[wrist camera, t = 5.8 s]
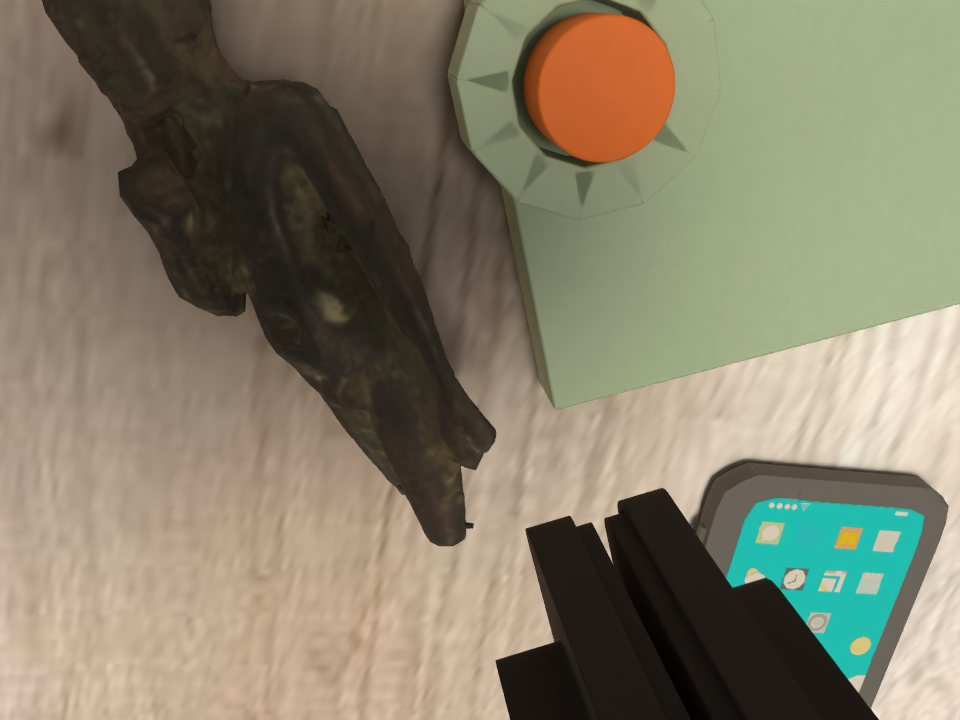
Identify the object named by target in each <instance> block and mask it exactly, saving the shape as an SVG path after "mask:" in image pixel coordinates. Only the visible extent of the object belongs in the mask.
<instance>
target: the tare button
mask: <svg viewBox="0 0 960 720" xmlns="http://www.w3.org/2000/svg"><path fill="white" fill-rule="evenodd" d="M523 92H524V100H525V104H526V108H527V110H528V113H529V116H530V118H531V119H532V121H533V123H534V125H535V126H536V127H537V129H538V130H539V131H540V132H541V133H542V134H543V135H544V136H545V137H546V138H547V139H548V140H550V141H551V142H552V143H554V144H555V145H557V146H558V147H560V148H561V149H563V150H564V151H565V152H567V153H569V154H571V155H572V156H574V157H577V158H579V159H582V160H585V161H590V162H598V163H602V162H612V161H618V160H621V159H624V158H627V157H629V156H631V155H633V154H635V153H636V152H638V151H640V150H641V149H643V148H644V147H645V146H646V145H648V144H649V143H650V142H651V141H652V140H653V139H654V138H655V137H656V135H657V134H658V133H659V131H660V130H661V129H662V127H663V125H664V124H665V122H666V120H667V118H668V115H669V113H670V111H671V107H672V104H673V100H674V94H675V72H674V67H673V63H672V60H671V56H670V54H669V52H668V50H667V48H666V46H665V45H664V43H663V41H662V40H661V39H660V37H659V36H658V35H657V34H656V33H655V32H654V31H653V30H652V29H651V28H649V27H648V26H647V25H645V24H644V23H642V22H640V21H638V20H636V19H634V18H631V17H627V16H624V15H616V14H606V13H596V12H593V13H581V14H577V15H573V16H570V17H568V18H566V19H564V20H561V21H560V22H558V23H557V24H555V25H554V26H552V27H551V28H550V29H549V30H548V31H547V32H546V33H545V34H544V35H543V36H542V37H541V38H540V39H539V41H538V42H537V44H536V45H535V47H534V48H533V50H532V52H531V54H530V56H529V59H528V62H527V65H526V69H525V73H524V81H523Z"/></svg>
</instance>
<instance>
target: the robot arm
mask: <svg viewBox="0 0 960 720" xmlns="http://www.w3.org/2000/svg"><path fill="white" fill-rule="evenodd" d="M618 513H619V514H617V515H614V516H611V517H607V518H605V520H604V521H605V528H606V533H607V538H608V542H609V547H610V552H611V556H612V561H613V563H612V561H611V559H610V557H609V555H608V553H607V551H606V550H605V548H604V546H603V544H602V542H601V540H600V538H599V536H598V534H597V532H596V530H595V528H594V526H593V524H592V523H587V524H584V525H581V526H577V527H576V526H575V524H574V521H573V520H572V518H571V516H567V517H563V518H560V519H557V520H553V521H550V522H547V523H543V524H540V525H537V526H533V527H530V528H527V529H526V535H527V539H528V543H529V547H530V551H531V554H532V558H533V562H534V566H535V570H536V574H537V577H538V581H539V585H540V589H541V593H542V596H543V600H544V604H545V608H546V612H547V615H548V619H549V623H550V627H551V631H552V634H553V638H554V643H551V644H547V645H544V646H541V647H537V648H534V649H531V650H528V651H524V652H521V653H518V654H515V655H511V656H508V657H505V658H502V659H498V660H496V665H497V669H498V673H499V677H500V681H501V685H502V689H503V693H504V697H505V701H506V705H507V709H508V713H509V716H510V720H879V719H878V718H877V717H876V715H875V714H874V713H873V711H872V710H871V709H870V708H869V706H868V705H867V704H866V702H865V701H864V700H863V698H862V697H861V696H860V694H859V693H858V692H857V690H856V689H855V688H854V686H853V685H852V684H851V682H850V681H849V680H848V678H847V677H846V676H845V674H844V673H843V672H842V671H841V669H840V668H839V667H838V665H837V664H836V663H835V661H834V660H833V659H832V657H831V656H830V655H829V653H828V652H827V651H826V649H825V648H824V647H823V645H822V644H821V643H820V641H819V640H818V639H817V637H816V636H815V635H814V634H813V632H812V631H811V630H810V628H809V627H808V626H807V624H806V623H805V622H804V620H803V619H802V618H801V616H800V615H799V614H798V612H797V611H796V610H795V608H794V607H793V606H792V604H791V603H790V602H789V600H788V599H787V598H786V597H785V595H784V594H783V593H782V591H781V590H780V589H779V588H778V587H777V585H776V584H775V583H774V582H773V581H772V580H770V579H768V578H763V579H759V580H756V581H753V582H750V583H746V584H743V585H740V586H737V587H733V588H732V586H731V585H730V583H729V582H728V580H727V579H726V577H725V576H724V574H723V573H722V571H721V570H720V569H719V567H718V566H717V564H716V563H715V561H714V560H713V558H712V557H711V555H710V554H709V552H708V551H707V549H706V548H705V546H704V545H703V544H702V542H701V541H700V539H699V538H698V536H697V535H696V533H695V532H694V530H693V529H692V527H691V526H690V524H689V523H688V521H687V520H686V519H685V517H684V516H683V514H682V513H681V511H680V510H679V508H678V507H677V505H676V504H675V502H674V501H673V499H672V498H671V496H670V495H669V494H668V492H667V491H666V490H665V489H663V488H660V489H657V490H654V491H650V492H647V493H644V494H640V495H637V496H634V497H630V498H627V499H624V500H620V501H618Z"/></svg>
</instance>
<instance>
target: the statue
mask: <svg viewBox="0 0 960 720" xmlns="http://www.w3.org/2000/svg"><path fill="white" fill-rule="evenodd" d="M42 2H43V6H44V9H45V12H46V14H47V15H48V17H49V18H50V20H51V21H52V23H53V24H54V25H55V27H56V28H57V30H58V31H59V33H60V34H61V36H62V37H63V39H64V40H65V42H66V43H67V44H68V45H69V46H70V48H71V49H72V50H73V51H74V52H75V53H76V54H77V56H78V60H79V63H80V64H81V65H82V67H83V68H84V69H85V70H86V72H87V73H88V74H89V75H90V76H91V77H92V78H93V80H94V81H95V82H96V84H97V86H98V88H99V89H100V91H101V92H102V93H103V94H104V95H106V96H107V97H108V98H109V100H110V101H111V103H112V105H113V106H114V108H115V109H116V111H117V112H118V114H119V115H120V117H121V118H122V120H123V123H124V126H125V129H126V132H127V135H128V136H129V138H130V139H131V141H132V142H133V146H134V149H135V153H136V156H137V160H136V161H135V163H134V164H133V165H132V166H131V167H129V168H126V169H124V170H122V171H119V172H118V181H119V193H120V197H121V198H122V200H123V201H124V202H125V204H126V205H127V207H128V208H129V210H130V211H131V212H132V214H133V215H134V216H135V218H136V219H137V220H138V221H139V222H140V223H141V224H142V225H143V227H144V228H145V229H146V230H147V232H148V233H149V235H150V237H151V239H152V241H153V242H154V244H155V246H156V248H157V250H158V252H159V254H160V257H161V260H162V263H163V265H164V268H165V271H166V273H167V276H168V278H169V280H170V282H171V284H172V285H173V287H174V289H175V291H176V293H177V294H178V296H179V297H180V298H182V299H184V300H185V301H187V302H189V303H191V304H193V305H194V306H196V307H198V308H200V309H202V310H205V311H208V312H210V313H212V314H214V315H216V316H238V315H240V314H242V313H243V312H245V303H246V292H247V293H248V295H249V297H250V299H251V302H252V304H253V306H254V309H255V312H256V314H257V317H258V320H259V322H260V325H261V327H262V330H263V332H264V335H265V337H266V339H267V340H268V342H269V343H270V344H271V346H272V347H273V349H274V350H275V351H276V353H277V354H278V355H280V356H281V357H282V358H283V359H285V360H286V361H287V362H288V363H290V364H291V365H292V366H293V367H294V368H296V370H297V371H298V372H299V373H300V374H301V376H302V377H303V378H304V379H305V380H306V381H307V382H308V383H309V384H310V385H311V386H312V387H313V388H314V389H315V390H317V391H318V392H319V393H320V394H321V396H322V398H323V399H324V401H325V402H326V403H327V404H328V406H329V407H330V408H331V410H332V411H333V413H334V415H335V416H336V418H337V419H338V420H339V422H340V423H341V425H342V426H343V427H344V429H345V430H346V431H347V432H348V434H349V435H350V436H351V437H352V438H353V439H354V440H355V442H356V443H357V444H358V446H359V447H360V448H361V449H362V450H363V452H364V453H365V454H366V455H367V456H368V458H369V459H370V460H371V461H372V462H373V463H374V464H375V465H376V466H377V468H378V469H379V470H380V471H381V472H382V473H383V474H384V476H385V477H386V478H387V480H388V481H389V482H391V483H392V484H393V485H394V486H395V487H396V488H397V489H398V490H399V491H400V493H401V494H402V495H406V497H407V499H408V500H409V502H410V504H411V506H412V508H413V510H414V512H415V514H416V516H417V518H418V520H419V522H420V524H421V526H422V529H423V531H424V533H425V535H426V536H427V538H428V539H429V541H430V542H432V543H434V544H436V545H438V546H454V545H456V544H458V543H459V542H461V541H462V540H464V539H465V537H466V529H468V528H473V525H474V523H466V520H465V502H464V493H463V484H462V473H461V466H464V467H465V468H469V469H474V470H476V469H477V466H478V464H479V462H480V460H481V458H482V456H483V454H484V453H485V452H488V451H489V449H490V448H491V446H492V445H493V443H494V442H495V438H496V430H495V428H494V427H493V426H492V425H491V424H490V422H489V421H488V420H487V419H486V418H485V417H484V415H483V414H482V413H481V412H480V411H479V409H478V408H477V406H476V405H475V404H474V403H473V402H472V401H471V400H470V398H469V397H468V395H467V394H466V392H465V391H464V389H463V388H462V386H461V384H460V383H459V381H458V380H457V379H456V378H455V375H454V371H453V370H452V368H451V367H450V365H449V363H448V361H447V358H446V355H445V352H444V349H443V346H442V343H441V340H440V337H439V334H438V331H437V329H436V326H435V323H434V319H433V315H432V312H431V309H430V306H429V303H428V300H427V297H426V293H425V290H424V287H423V284H422V282H421V279H420V276H419V275H418V273H417V271H416V269H415V267H414V264H413V261H412V258H411V254H410V250H409V246H408V244H407V243H406V242H405V240H404V239H403V237H402V236H401V234H400V233H399V231H398V229H397V227H396V225H395V222H394V220H393V218H392V215H391V213H390V210H389V208H388V206H387V204H386V201H385V199H384V197H383V195H382V193H381V191H380V189H379V187H378V185H377V183H376V181H375V179H374V178H373V176H372V174H371V173H370V171H369V170H368V168H367V166H366V164H365V162H364V160H363V158H362V156H361V154H360V152H359V150H358V148H357V146H356V144H355V143H354V141H353V139H352V137H351V135H350V134H349V132H348V130H347V128H346V126H345V124H344V122H343V120H342V118H341V116H340V114H339V113H338V111H337V109H335V108H333V107H330V105H329V104H328V103H327V102H326V100H325V99H324V98H323V96H322V95H321V94H320V92H319V91H318V90H317V89H316V88H314V87H312V86H310V85H308V84H306V83H303V82H291V81H287V80H269V81H259V82H250V81H245V80H242V79H240V78H238V76H237V75H236V74H235V72H234V71H233V69H232V68H231V67H230V65H229V64H228V63H227V62H226V60H225V59H224V58H223V57H222V56H221V54H220V51H219V48H218V45H217V43H216V38H215V34H214V31H213V27H212V17H211V4H210V0H42Z"/></svg>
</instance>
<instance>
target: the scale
mask: <svg viewBox="0 0 960 720" xmlns="http://www.w3.org/2000/svg"><path fill="white" fill-rule="evenodd" d="M463 3H464V8H465V14H464V18H463V21H462V24H461V28H460V31H459V35H458V38H457V41H456V45H455V48H454V52H453V55H452V58H451V62H450V65H449V68H448V73H449V74H448V80H449V85H450V90H451V94H452V99H453V104H454V108H455V113H456V118H457V122H458V127H459V131H460V136H461V139H462V141H463V142H464V144H465V145H466V147H467V148H468V149H469V150H470V151H471V152H472V154H473V155H474V156H475V157H476V158H477V159H478V160H479V161H480V162H481V164H482V165H483V166H484V167H485V168H486V169H487V170H488V171H489V172H490V173H491V175H492V176H493V177H494V178H495V179H496V180H497V181H498V182H499V183H500V186H501V191H502V196H503V201H504V206H505V211H506V216H507V221H508V226H509V231H510V236H511V241H512V246H513V251H514V256H515V261H516V266H517V271H518V276H519V281H520V286H521V291H522V296H523V300H524V305H525V310H526V315H527V320H528V325H529V330H530V335H531V340H532V345H533V350H534V355H535V360H536V365H537V370H538V375H539V380H540V383H541V385H542V387H543V389H544V391H545V392H546V394H547V396H548V398H549V400H550V402H551V404H552V405H553V407H554V409H561V408H564V407H568V406H572V405H576V404H580V403H583V402H587V401H591V400H595V399H599V398H603V397H606V396H610V395H614V394H618V393H622V392H625V391H629V390H633V389H637V388H641V387H644V386H648V385H652V384H656V383H660V382H664V381H667V380H671V379H675V378H679V377H683V376H686V375H690V374H694V373H698V372H702V371H705V370H709V369H713V368H717V367H721V366H725V365H728V364H732V363H736V362H740V361H744V360H747V359H751V358H755V357H759V356H763V355H767V354H770V353H774V352H778V351H782V350H786V349H789V348H793V347H797V346H801V345H805V344H808V343H812V342H816V341H820V340H824V339H828V338H831V337H835V336H839V335H843V334H847V333H850V332H854V331H858V330H862V329H866V328H869V327H873V326H877V325H881V324H885V323H889V322H892V321H896V320H900V319H904V318H908V317H911V316H915V315H919V314H923V313H927V312H930V311H934V310H938V309H942V308H946V307H950V306H953V305H957V304H960V0H463ZM593 12H596V13H606V14H616V15H624V16H627V17H631V18H634V19H636V20H638V21H640V22H642V23H644V24H645V25H647V26H648V27H649V28H651V29H652V30H653V31H654V32H655V33H656V34H657V35H658V36H659V37H660V39H661V40H662V41H663V43H664V45H665V46H666V48H667V50H668V52H669V54H670V56H671V60H672V63H673V67H674V72H675V94H674V100H673V104H672V107H671V111H670V113H669V115H668V118H667V120H666V122H665V124H664V125H663V127H662V129H661V130H660V131H659V133H658V134H657V135H656V137H655V138H654V139H653V140H652V141H651V142H650V143H649V144H648V145H646V146H645V147H644V148H643V149H641V150H640V151H638V152H636V153H635V154H633V155H631V156H629V157H627V158H624V159H621V160H618V161H612V162H602V163H598V162H590V161H585V160H582V159H579V158H577V157H574V156H572V155H571V154H569V153H567V152H565V151H564V150H563V149H561V148H560V147H558V146H557V145H555V144H554V143H552V142H551V141H550V140H548V139H547V138H546V137H545V136H544V135H543V134H542V133H541V132H540V131H539V130H538V129H537V127H536V126H535V125H534V123H533V121H532V119H531V118H530V116H529V113H528V110H527V108H526V104H525V100H524V92H523V81H524V73H525V69H526V65H527V62H528V59H529V56H530V54H531V52H532V50H533V48H534V47H535V45H536V44H537V42H538V41H539V39H540V38H541V37H542V36H543V35H544V34H545V33H546V32H547V31H548V30H549V29H550V28H551V27H552V26H554V25H555V24H557V23H558V22H560V21H561V20H564V19H566V18H568V17H570V16H573V15H577V14H581V13H593Z"/></svg>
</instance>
